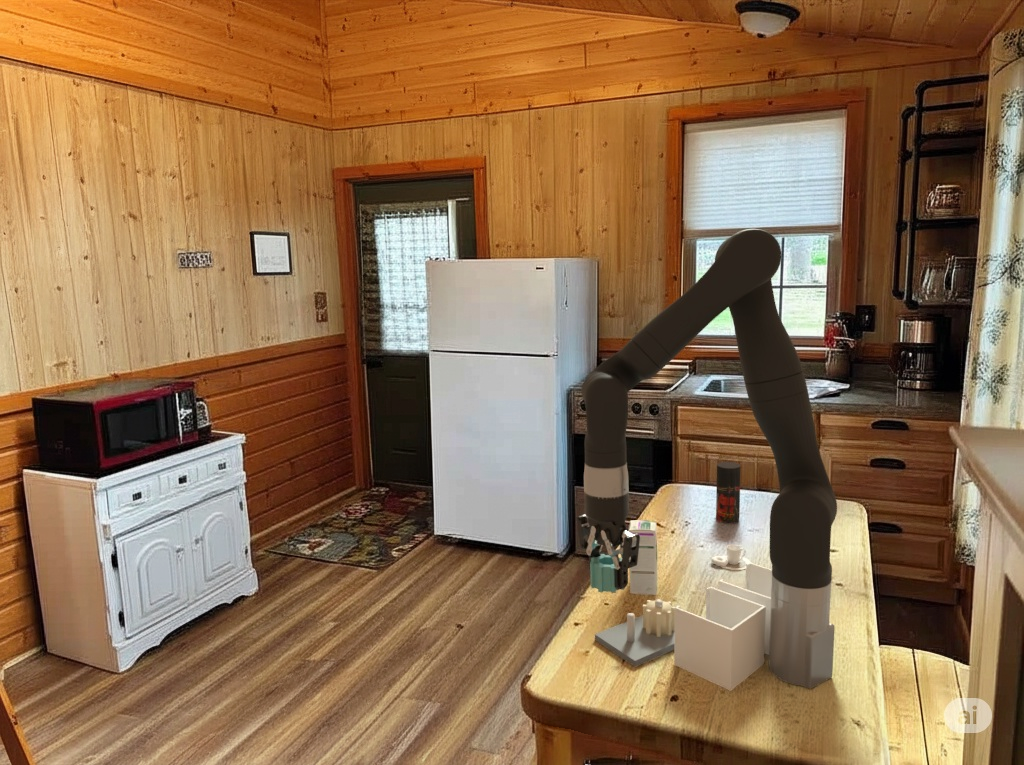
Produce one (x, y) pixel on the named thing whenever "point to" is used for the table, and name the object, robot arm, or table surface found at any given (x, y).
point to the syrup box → (644, 558)
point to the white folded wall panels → (727, 630)
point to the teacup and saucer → (731, 558)
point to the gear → (603, 573)
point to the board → (642, 634)
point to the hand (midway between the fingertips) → (608, 580)
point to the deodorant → (728, 492)
